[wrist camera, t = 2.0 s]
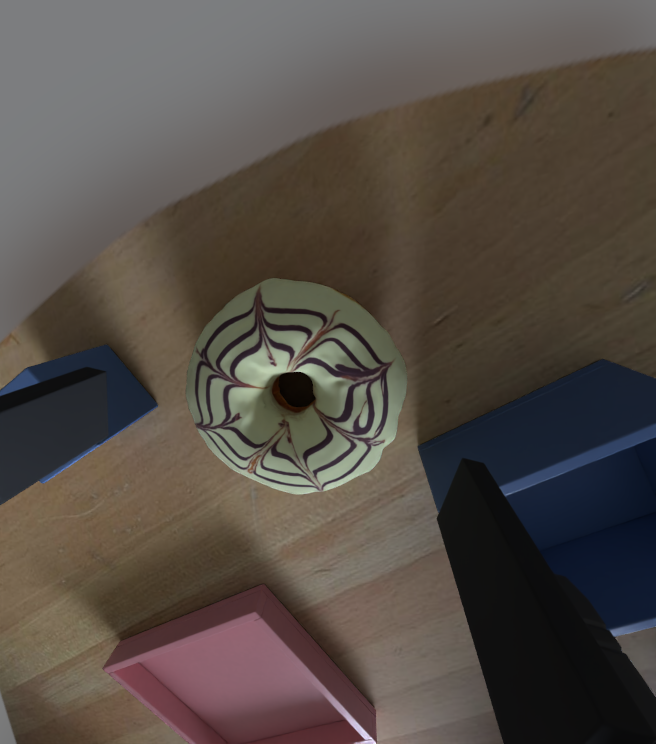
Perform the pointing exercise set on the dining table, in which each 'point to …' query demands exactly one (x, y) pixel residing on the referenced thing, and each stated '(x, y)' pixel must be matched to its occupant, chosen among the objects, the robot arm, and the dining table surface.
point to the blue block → (122, 390)
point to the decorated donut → (296, 354)
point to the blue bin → (575, 481)
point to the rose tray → (242, 677)
